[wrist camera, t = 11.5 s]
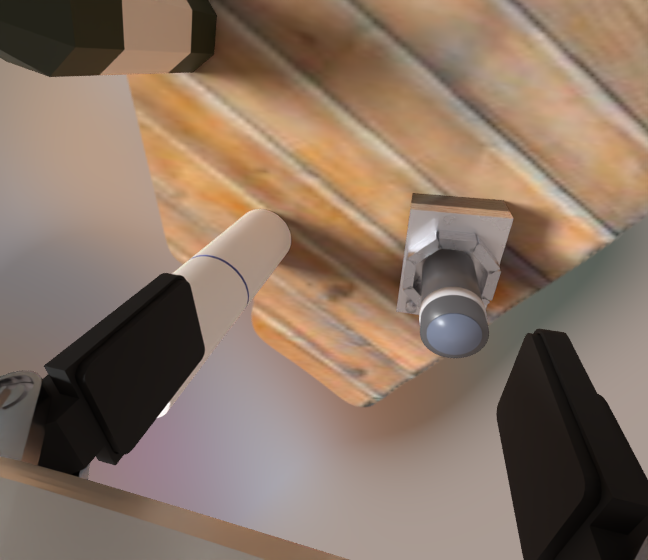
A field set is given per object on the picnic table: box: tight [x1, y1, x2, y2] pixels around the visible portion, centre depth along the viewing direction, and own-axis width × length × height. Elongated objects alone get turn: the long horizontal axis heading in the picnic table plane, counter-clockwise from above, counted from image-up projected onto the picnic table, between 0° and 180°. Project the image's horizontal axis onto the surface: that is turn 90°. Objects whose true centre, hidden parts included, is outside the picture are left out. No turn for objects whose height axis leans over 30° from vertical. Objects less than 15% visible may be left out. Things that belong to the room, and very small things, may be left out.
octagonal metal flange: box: [396, 193, 514, 315], centre depth 37 cm, size 12×9×7 cm
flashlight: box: [419, 249, 489, 358], centre depth 31 cm, size 5×5×10 cm
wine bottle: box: [0, 0, 217, 77], centre depth 22 cm, size 8×8×30 cm
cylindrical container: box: [157, 209, 291, 418], centre depth 34 cm, size 7×7×25 cm
